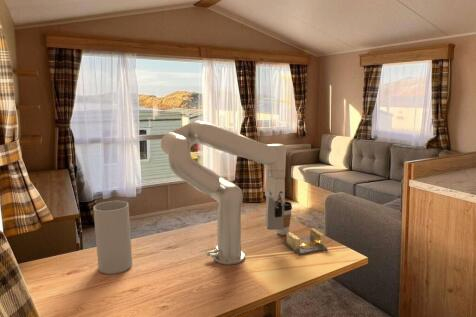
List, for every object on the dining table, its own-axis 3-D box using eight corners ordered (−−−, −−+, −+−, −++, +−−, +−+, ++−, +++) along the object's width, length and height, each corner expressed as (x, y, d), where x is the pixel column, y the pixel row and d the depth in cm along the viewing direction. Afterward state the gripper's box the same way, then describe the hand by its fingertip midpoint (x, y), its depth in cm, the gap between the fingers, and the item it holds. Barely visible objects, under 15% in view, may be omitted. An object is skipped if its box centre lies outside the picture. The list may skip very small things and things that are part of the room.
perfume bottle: (283, 229, 151) (284, 188, 148) (267, 229, 150) (268, 188, 147) (280, 224, 157) (282, 184, 154) (265, 224, 157) (266, 184, 154)
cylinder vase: (138, 261, 144) (134, 202, 139) (120, 276, 132) (115, 212, 127) (111, 258, 147) (107, 199, 142) (91, 272, 135) (86, 209, 131)
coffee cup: (271, 230, 175) (271, 201, 173) (286, 228, 178) (287, 199, 175) (278, 236, 168) (278, 206, 165) (294, 234, 170) (295, 204, 167)
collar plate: (298, 255, 148) (299, 241, 147) (283, 243, 160) (284, 230, 159) (327, 250, 153) (327, 236, 152) (310, 238, 165) (311, 226, 164)
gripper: (259, 169, 157) (258, 208, 160) (277, 178, 141) (275, 221, 144) (274, 168, 159) (273, 207, 162) (294, 177, 143) (292, 219, 146)
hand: (274, 213), depth 153 cm, fingers closed on perfume bottle, 6 cm apart
